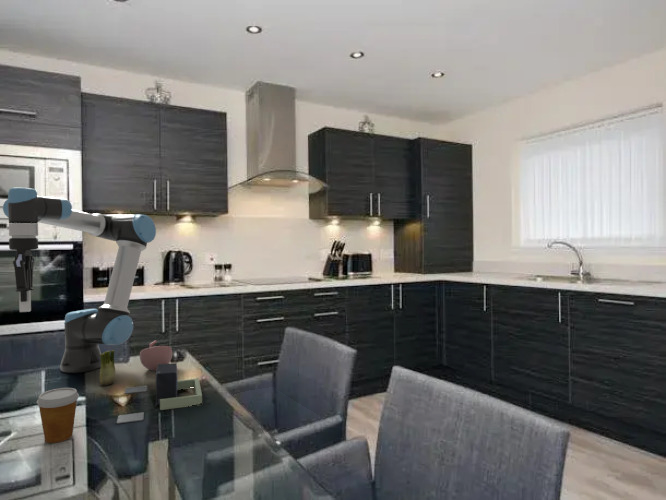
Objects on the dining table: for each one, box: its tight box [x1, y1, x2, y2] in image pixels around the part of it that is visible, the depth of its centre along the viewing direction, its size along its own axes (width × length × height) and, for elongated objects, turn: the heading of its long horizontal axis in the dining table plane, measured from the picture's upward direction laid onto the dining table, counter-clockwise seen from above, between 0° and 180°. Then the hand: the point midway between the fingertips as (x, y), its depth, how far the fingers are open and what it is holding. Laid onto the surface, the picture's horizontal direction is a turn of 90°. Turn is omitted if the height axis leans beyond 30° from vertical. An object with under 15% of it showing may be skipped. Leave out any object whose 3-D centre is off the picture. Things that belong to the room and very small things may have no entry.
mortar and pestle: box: [139, 340, 173, 371], centre depth 175 cm, size 12×12×12 cm
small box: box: [155, 362, 178, 406], centre depth 145 cm, size 11×6×10 cm, turn 19°
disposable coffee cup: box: [36, 387, 80, 444], centre depth 117 cm, size 10×10×12 cm
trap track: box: [116, 378, 203, 425], centre depth 144 cm, size 30×24×3 cm
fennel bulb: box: [99, 350, 116, 386], centre depth 158 cm, size 6×5×12 cm
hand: (25, 311), depth 140 cm, fingers closed
